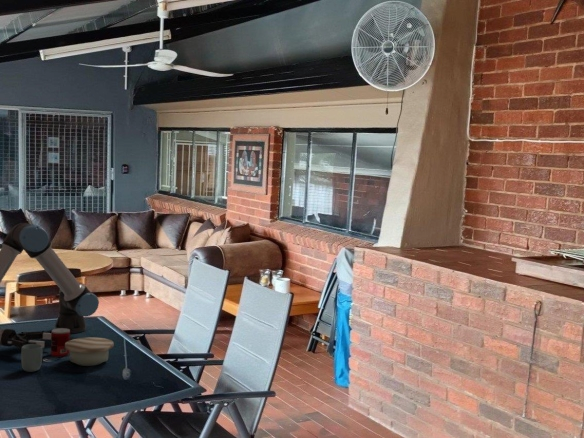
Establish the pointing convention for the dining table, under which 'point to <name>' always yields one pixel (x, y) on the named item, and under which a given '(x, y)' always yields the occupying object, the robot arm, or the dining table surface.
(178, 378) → the dining table surface
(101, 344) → the bowl cover
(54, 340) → the canned food
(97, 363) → the bowl
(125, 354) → the dining table surface
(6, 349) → the dining table surface
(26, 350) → the cup
